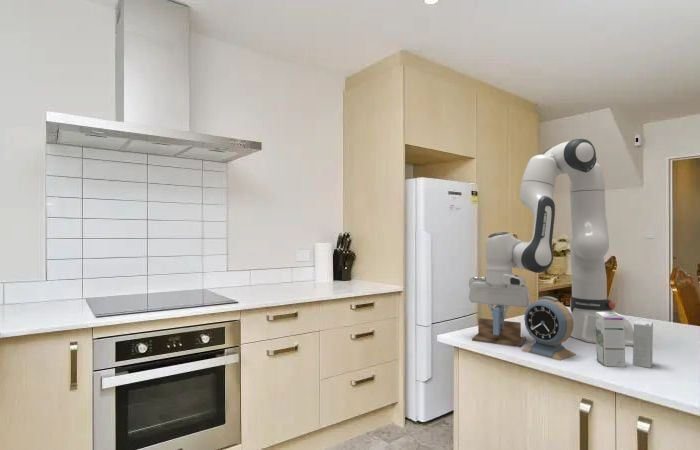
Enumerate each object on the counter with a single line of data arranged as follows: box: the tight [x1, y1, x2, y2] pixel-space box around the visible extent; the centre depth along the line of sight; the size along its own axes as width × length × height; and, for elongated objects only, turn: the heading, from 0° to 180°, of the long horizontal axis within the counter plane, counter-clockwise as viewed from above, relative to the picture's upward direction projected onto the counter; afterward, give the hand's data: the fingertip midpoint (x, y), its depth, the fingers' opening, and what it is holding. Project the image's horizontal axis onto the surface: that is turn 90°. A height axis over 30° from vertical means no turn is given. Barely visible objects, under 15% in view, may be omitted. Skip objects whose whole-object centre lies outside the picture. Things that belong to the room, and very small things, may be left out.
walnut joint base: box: [471, 317, 527, 348], centre depth 145 cm, size 16×11×7 cm
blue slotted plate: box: [492, 305, 505, 335], centre depth 145 cm, size 10×2×9 cm, turn 150°
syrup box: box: [595, 311, 627, 368], centre depth 119 cm, size 6×6×14 cm
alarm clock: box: [521, 295, 577, 361], centre depth 130 cm, size 14×10×18 cm
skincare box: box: [632, 319, 654, 369], centre depth 118 cm, size 6×4×12 cm
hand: (498, 317), depth 145 cm, fingers closed on blue slotted plate, 2 cm apart
